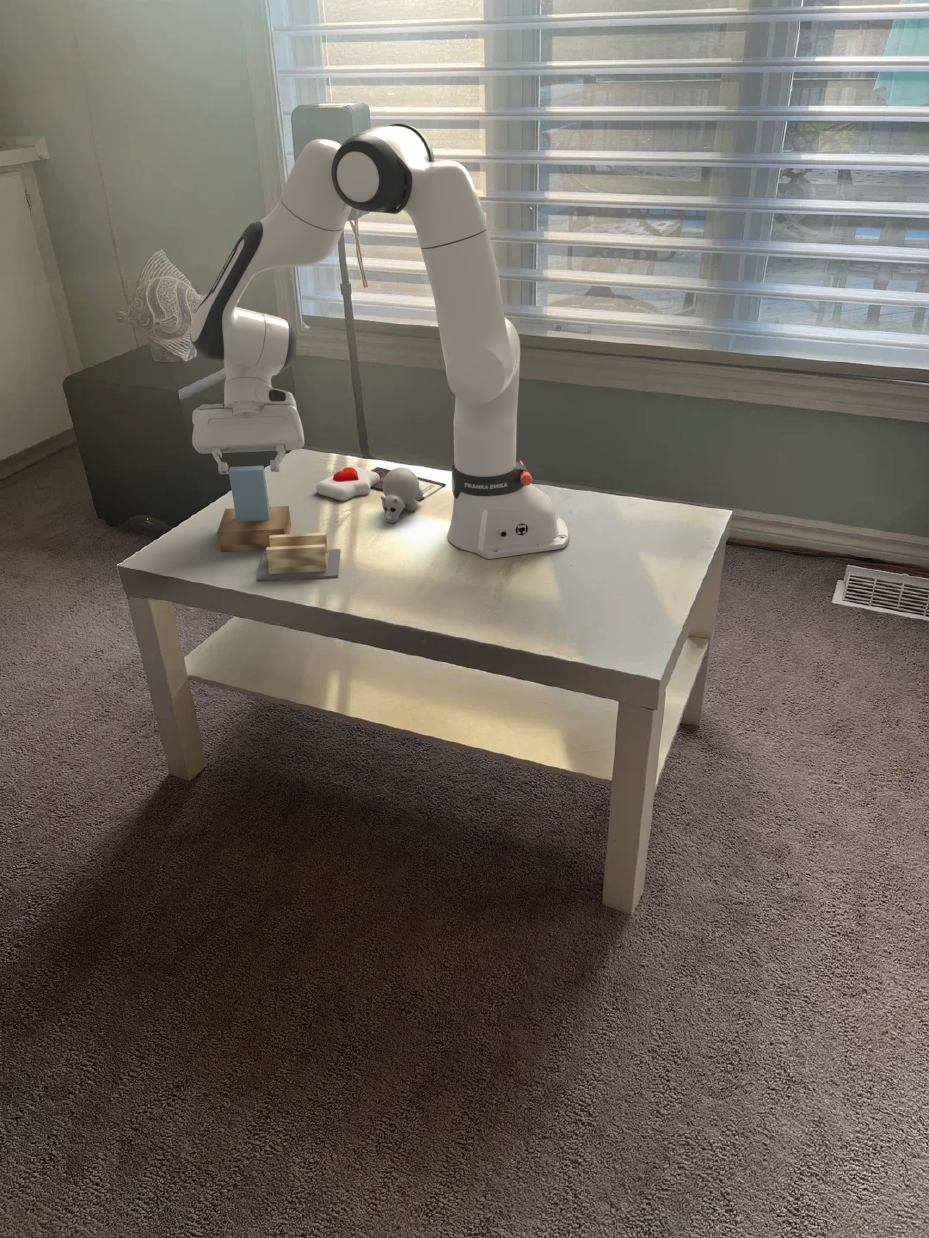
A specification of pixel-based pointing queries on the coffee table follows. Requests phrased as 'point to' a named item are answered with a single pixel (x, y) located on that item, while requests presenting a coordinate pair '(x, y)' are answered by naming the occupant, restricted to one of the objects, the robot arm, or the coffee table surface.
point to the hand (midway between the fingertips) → (249, 472)
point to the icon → (348, 483)
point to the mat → (330, 573)
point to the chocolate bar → (425, 484)
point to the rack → (297, 553)
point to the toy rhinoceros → (400, 493)
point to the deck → (252, 530)
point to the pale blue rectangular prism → (249, 493)
